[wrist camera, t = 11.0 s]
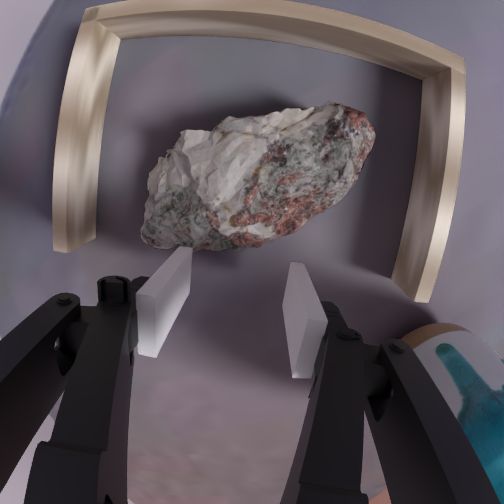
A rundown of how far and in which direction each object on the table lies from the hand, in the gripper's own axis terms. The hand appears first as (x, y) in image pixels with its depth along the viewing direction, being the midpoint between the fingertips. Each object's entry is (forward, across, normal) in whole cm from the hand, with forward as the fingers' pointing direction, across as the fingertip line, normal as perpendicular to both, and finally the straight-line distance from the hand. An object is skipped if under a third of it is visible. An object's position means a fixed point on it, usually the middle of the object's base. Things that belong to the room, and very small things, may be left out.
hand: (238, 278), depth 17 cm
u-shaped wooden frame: (+4, 0, +8) cm, 9 cm away
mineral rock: (+4, 0, +5) cm, 7 cm away
